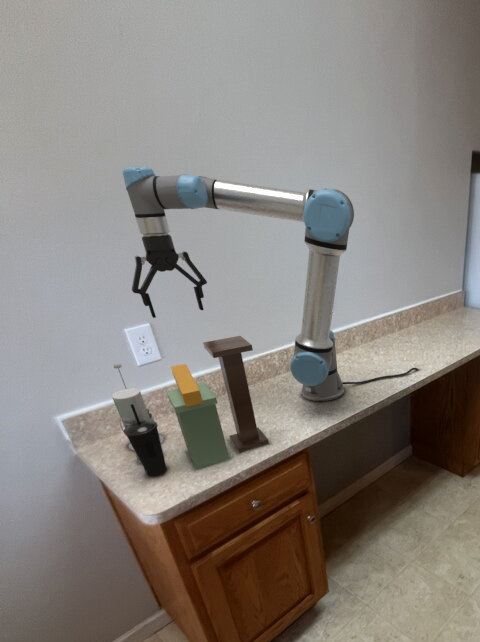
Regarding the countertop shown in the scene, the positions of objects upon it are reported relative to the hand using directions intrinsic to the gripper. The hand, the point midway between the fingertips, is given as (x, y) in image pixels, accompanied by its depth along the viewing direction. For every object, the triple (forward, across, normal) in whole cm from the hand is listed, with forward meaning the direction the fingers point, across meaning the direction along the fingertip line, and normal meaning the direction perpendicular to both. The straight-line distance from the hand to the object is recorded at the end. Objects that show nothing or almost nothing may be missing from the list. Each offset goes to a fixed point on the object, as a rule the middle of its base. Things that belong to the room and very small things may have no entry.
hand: (178, 313), depth 126 cm
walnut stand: (+33, -5, +30) cm, 45 cm away
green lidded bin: (+33, +7, +30) cm, 45 cm away
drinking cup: (+33, +20, +31) cm, 50 cm away
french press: (+33, +21, +12) cm, 41 cm away
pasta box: (+14, +6, +27) cm, 31 cm away
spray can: (+33, +21, +22) cm, 45 cm away
